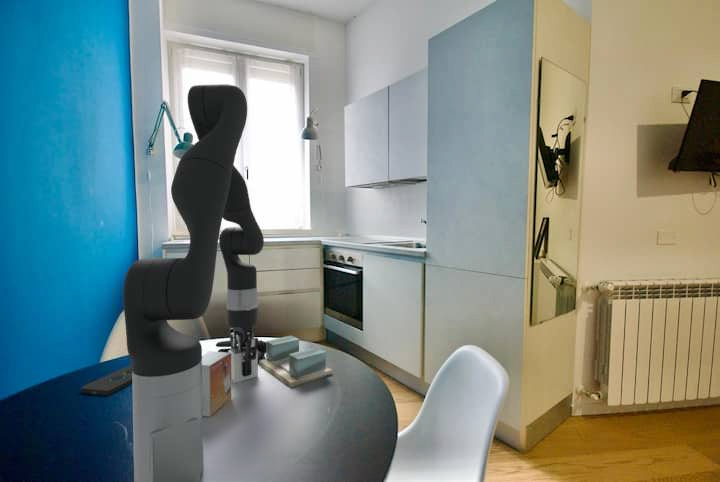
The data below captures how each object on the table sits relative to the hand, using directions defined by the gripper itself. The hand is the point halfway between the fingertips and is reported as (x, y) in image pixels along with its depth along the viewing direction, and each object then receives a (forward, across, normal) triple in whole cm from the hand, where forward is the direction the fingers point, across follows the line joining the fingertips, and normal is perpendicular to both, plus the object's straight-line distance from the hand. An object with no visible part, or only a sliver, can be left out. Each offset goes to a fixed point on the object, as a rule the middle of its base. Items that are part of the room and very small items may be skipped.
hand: (243, 372), depth 88 cm
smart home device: (+2, -19, -22) cm, 29 cm away
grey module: (+1, 0, 0) cm, 1 cm away
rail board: (+1, +4, +12) cm, 13 cm away
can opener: (+2, -15, +5) cm, 16 cm away
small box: (+2, +10, -11) cm, 15 cm away
